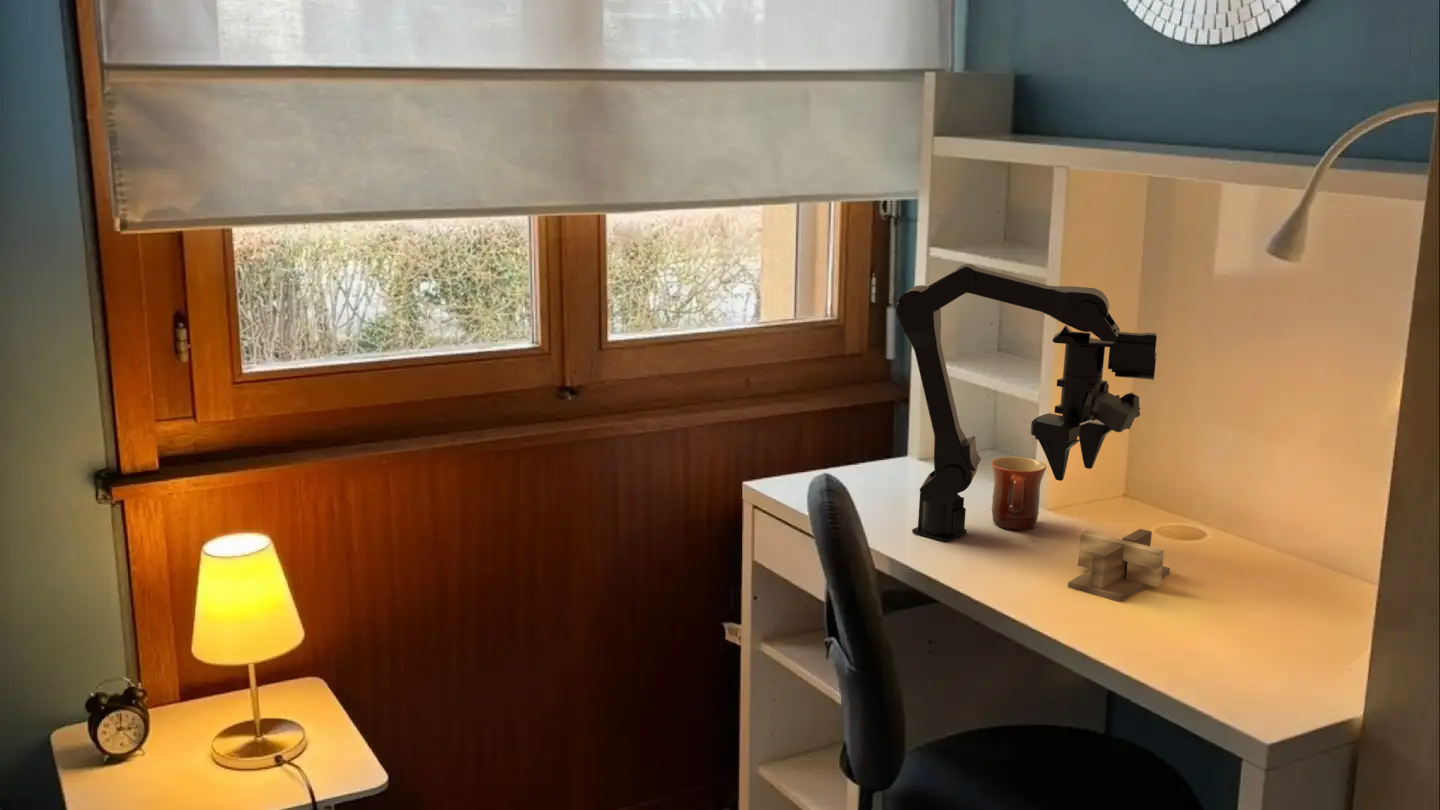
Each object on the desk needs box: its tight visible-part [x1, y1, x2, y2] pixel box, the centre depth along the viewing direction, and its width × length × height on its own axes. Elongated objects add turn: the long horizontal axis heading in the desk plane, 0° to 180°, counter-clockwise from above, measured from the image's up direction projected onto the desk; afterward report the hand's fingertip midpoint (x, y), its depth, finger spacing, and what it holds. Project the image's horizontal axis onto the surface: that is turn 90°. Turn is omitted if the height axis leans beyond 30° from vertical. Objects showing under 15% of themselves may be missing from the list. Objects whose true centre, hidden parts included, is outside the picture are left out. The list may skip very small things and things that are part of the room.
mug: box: [990, 456, 1047, 531], centre depth 221 cm, size 12×9×10 cm
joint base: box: [1067, 528, 1171, 603], centre depth 199 cm, size 8×16×6 cm, turn 138°
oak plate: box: [1077, 530, 1165, 587], centre depth 199 cm, size 12×2×5 cm, turn 48°
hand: (1074, 474), depth 210 cm, fingers open, 9 cm apart
